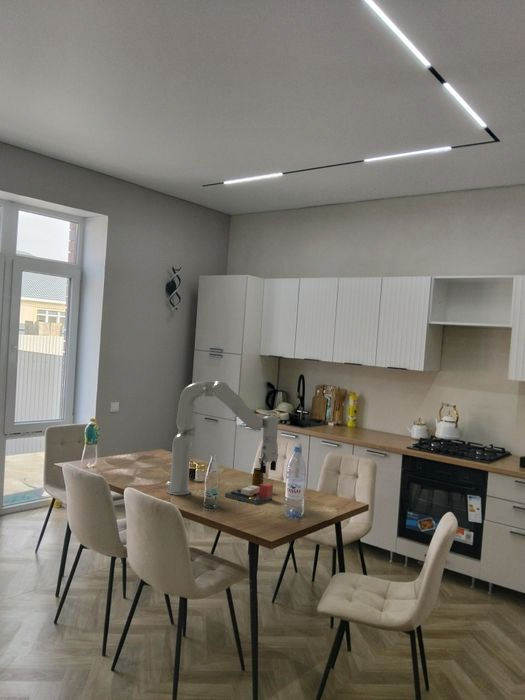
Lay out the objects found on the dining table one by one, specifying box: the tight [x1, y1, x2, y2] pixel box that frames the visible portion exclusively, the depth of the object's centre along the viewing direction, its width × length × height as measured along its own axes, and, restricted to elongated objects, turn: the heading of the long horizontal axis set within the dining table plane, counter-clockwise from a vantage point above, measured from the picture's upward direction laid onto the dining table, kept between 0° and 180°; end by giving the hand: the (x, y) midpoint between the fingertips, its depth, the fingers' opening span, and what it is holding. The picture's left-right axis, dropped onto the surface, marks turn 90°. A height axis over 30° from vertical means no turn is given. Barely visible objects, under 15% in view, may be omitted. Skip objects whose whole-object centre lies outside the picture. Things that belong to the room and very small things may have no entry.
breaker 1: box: [240, 486, 254, 496], centre depth 296 cm, size 5×5×3 cm
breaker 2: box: [247, 484, 260, 494], centre depth 301 cm, size 5×5×3 cm
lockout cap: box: [259, 482, 274, 498], centre depth 297 cm, size 5×5×6 cm
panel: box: [224, 488, 273, 506], centre depth 298 cm, size 20×15×3 cm
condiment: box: [251, 467, 264, 487], centre depth 316 cm, size 7×8×12 cm
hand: (267, 471), depth 297 cm, fingers open, 9 cm apart
